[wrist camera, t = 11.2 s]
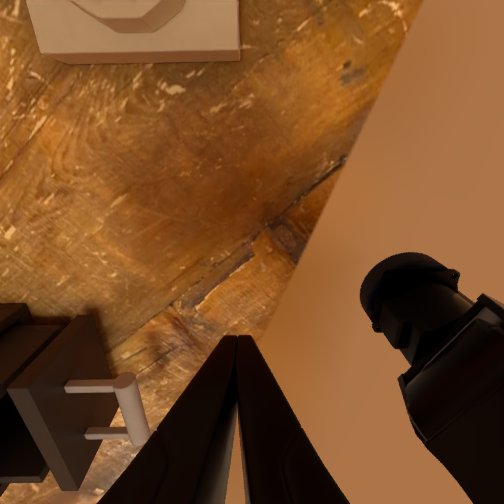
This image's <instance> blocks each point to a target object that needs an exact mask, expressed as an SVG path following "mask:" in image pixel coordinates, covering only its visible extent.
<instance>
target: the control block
mask: <svg viewBox="0 0 504 504" xmlns="http://www.w3.org/2000/svg"><path fill="white" fill-rule="evenodd" d="M26 3H27V6H28V10H29V13H30V17H31V21H32V24H33V28H34V32H35V35H36V39H37V42H38V46H39V50H40V53H41V54H43V55H46V56H48V57H51V58H53V59H56V60H58V61H61V62H63V63H66V64H115V63H167V62H219V61H240V26H239V0H26Z"/></svg>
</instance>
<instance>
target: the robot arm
mask: <svg viewBox="0 0 504 504" xmlns="http://www.w3.org/2000/svg"><path fill="white" fill-rule="evenodd" d="M452 274H454V275H453V276H452ZM388 275H391V276H390V277H388V278H387V276H388ZM459 277H460V272H458V271H457V270H455V269H413V270H386V271H385V272H384V273H383V274H382V278H381V283H380V288H379V293H378V294H377V295H376V300H375V305H374V310H373V315H372V317H373V323H372V328H373V330H374V332H376V333H384V335H385V336H386V338H387V339H388V341H389V342H390V344H391V345H392V346H393V347H394V348H395V349H400V351H401V352H402V354H403V355H404V357H405V358H406V359H407V361H408V362H409V364H410V365H411V367H410V369H408V371H407V372H405V373H404V374H401V375H400V376H399V377H398V382H399V386H400V389H401V392H402V395H403V399H404V402H405V405H406V409H407V413H408V415H409V418H410V421H411V424H412V426H413V428H414V431H415V434H416V435H417V437H418V438H419V439H420V440H421V441H422V442H423V444H424V445H425V447H426V448H427V449H428V450H429V451H430V452H431V453H432V454H433V455H434V456H435V457H436V458H437V459H438V460H439V461H440V462H441V463H442V464H443V465H444V466H445V468H446V469H447V470H448V471H449V472H450V474H451V475H452V476H453V477H454V478H455V479H456V480H457V482H458V483H459V485H460V486H461V487H462V489H463V490H464V491H465V493H466V494H467V495H468V497H469V498H470V500H471V501H472V503H473V504H504V304H502V303H501V302H499V301H497V300H495V299H493V298H491V297H489V296H487V295H485V294H484V293H482V294H481V295H480V296H479V297H478V298H477V300H478V301H477V302H476V303H474V302H473V301H471V300H470V299H469V298H467V297H466V296H465V295H463V294H462V293H461V292H459V291H458V290H457V289H456V287H457V284H458V281H459ZM377 327H378V328H377ZM237 408H238V424H239V435H240V446H241V456H242V466H243V467H242V468H243V478H244V490H245V501H246V504H350V503H349V501H348V500H347V498H346V497H345V495H344V494H343V493H342V491H341V490H340V488H339V487H338V485H337V484H336V482H335V481H334V479H333V478H332V476H331V475H330V473H329V472H328V470H327V469H326V467H325V466H324V464H323V463H322V461H321V459H320V457H319V456H318V454H317V452H316V451H315V449H314V447H313V446H312V444H311V442H310V441H309V439H308V437H307V435H306V433H305V431H304V430H303V428H301V425H300V423H299V421H298V419H297V417H296V415H295V414H294V412H293V410H292V408H291V407H290V405H289V403H288V401H287V399H286V397H285V396H284V394H283V392H282V390H281V388H280V387H279V385H278V383H277V381H276V379H275V378H274V376H273V374H272V372H271V370H270V369H269V367H268V365H267V363H266V361H265V359H264V358H263V356H262V354H261V352H260V350H259V349H258V347H257V345H256V343H255V341H254V340H253V338H252V336H251V335H239V336H238V338H237V336H236V335H225V336H223V338H222V339H221V340H220V342H219V343H218V344H217V346H216V347H215V349H214V350H213V351H212V353H211V354H210V355H209V357H208V358H207V360H206V361H205V362H204V364H203V365H202V366H201V368H200V369H199V371H198V372H197V373H196V375H195V376H194V378H193V379H192V380H191V382H190V383H189V384H188V386H187V387H186V389H185V390H184V391H183V393H182V394H181V395H180V397H179V398H178V400H177V401H176V402H175V404H174V405H173V406H172V408H171V409H170V411H169V412H168V413H167V415H166V416H165V417H164V419H163V420H162V422H161V423H160V424H159V426H158V427H157V431H154V432H153V434H152V435H151V436H150V438H149V439H148V441H147V442H146V443H145V445H144V446H143V447H142V449H141V450H140V451H139V453H138V454H137V455H136V457H135V458H134V459H133V461H132V462H131V463H130V464H129V466H128V467H127V468H126V470H125V471H124V472H123V473H122V474H121V476H120V477H119V478H118V479H117V480H116V481H115V483H114V484H113V485H112V486H111V487H110V489H109V490H108V491H107V492H106V493H105V495H104V496H103V497H102V498H101V499H100V500H99V502H98V503H97V504H225V498H226V490H227V484H228V477H229V469H230V462H231V454H232V448H233V440H234V433H235V425H236V418H237Z"/></svg>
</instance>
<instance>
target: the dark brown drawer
mask: <svg viewBox="0 0 504 504" xmlns="http://www.w3.org/2000/svg"><path fill="white" fill-rule="evenodd" d="M119 406H120V409H121V412H122V416H123V419H124V422H125V425H126V427H109V426H110V424H111V422H112V420H113V418H114V416H115V414H116V412H117V410H118V408H119ZM149 436H150V430H149V426H148V422H147V419H146V415H145V411H144V407H143V403H142V400H141V396H140V392H139V388H138V385H137V381H136V377H135V375H134V374H133V373H131V372H126V373H123V374H121V375H119V376H118V377H117V378H116V379H112V376H111V373H110V370H109V366H108V363H107V360H106V357H105V354H104V350H103V347H102V344H101V341H100V338H99V334H98V331H97V328H96V325H95V322H94V318H93V315H77V316H76V317H75V318H74V319H73V320H72V322H71V323H70V324H69V325H68V326H67V327H66V328H65V329H64V330H63V328H62V325H24V326H9V327H8V328H7V329H5V330H4V331H3V332H2V333H0V483H42V482H43V481H44V479H45V477H46V476H47V474H48V472H49V471H50V470H51V472H52V474H53V476H54V477H55V479H56V481H57V483H58V485H59V487H60V488H61V490H62V491H78V490H79V488H80V486H81V484H82V482H83V480H84V478H85V476H86V474H87V472H88V469H89V467H90V465H91V463H92V461H93V459H94V457H95V455H96V453H97V451H98V449H99V447H100V445H101V443H102V441H103V439H129V438H130V441H131V443H132V444H133V445H134V446H140V445H142V444H144V443H145V442H146V441H147V440H148V438H149Z"/></svg>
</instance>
